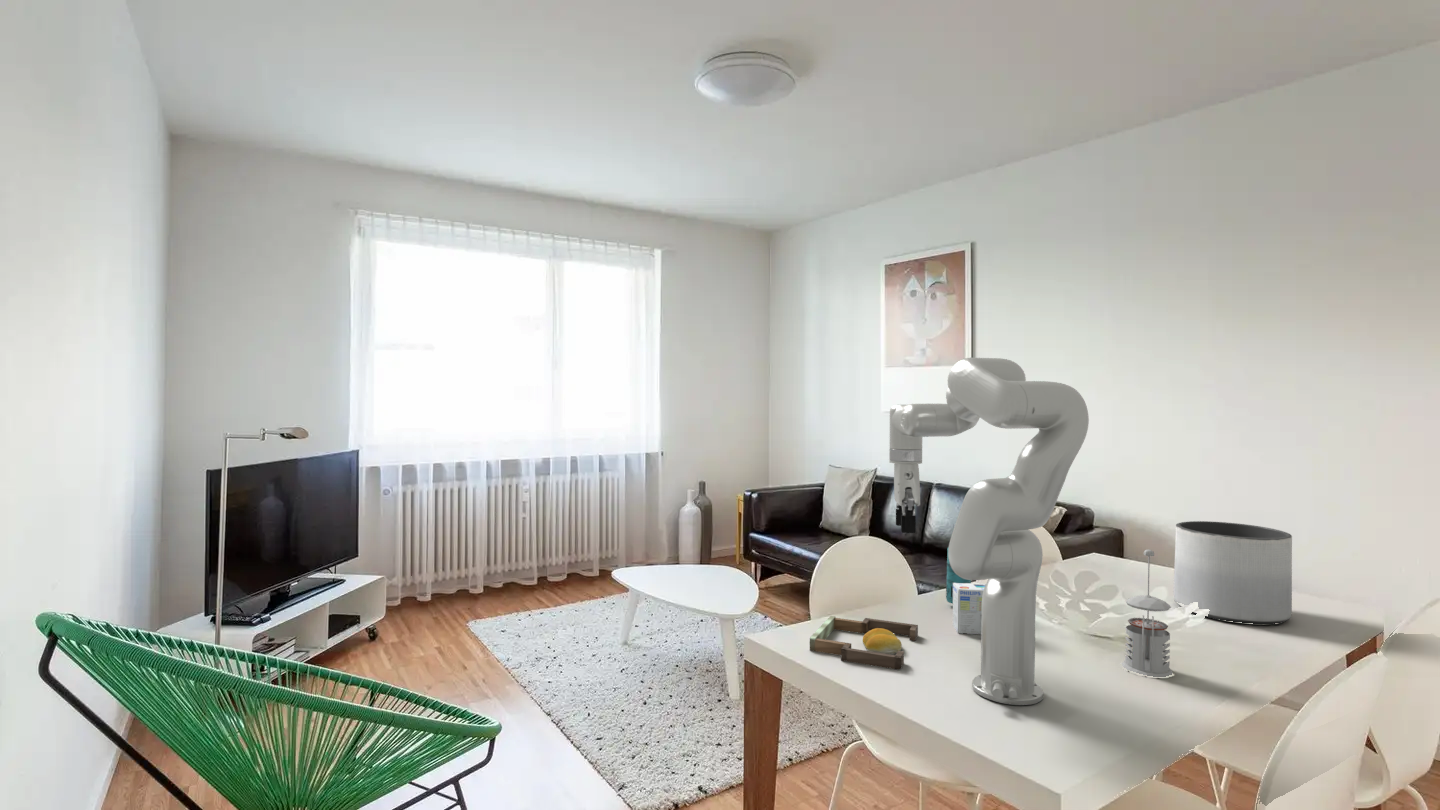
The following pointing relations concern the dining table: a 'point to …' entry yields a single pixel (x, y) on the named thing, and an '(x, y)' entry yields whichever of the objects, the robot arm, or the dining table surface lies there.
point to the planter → (1234, 571)
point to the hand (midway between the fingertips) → (905, 529)
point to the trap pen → (864, 626)
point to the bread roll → (881, 641)
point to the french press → (1147, 636)
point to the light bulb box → (967, 607)
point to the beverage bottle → (952, 580)
